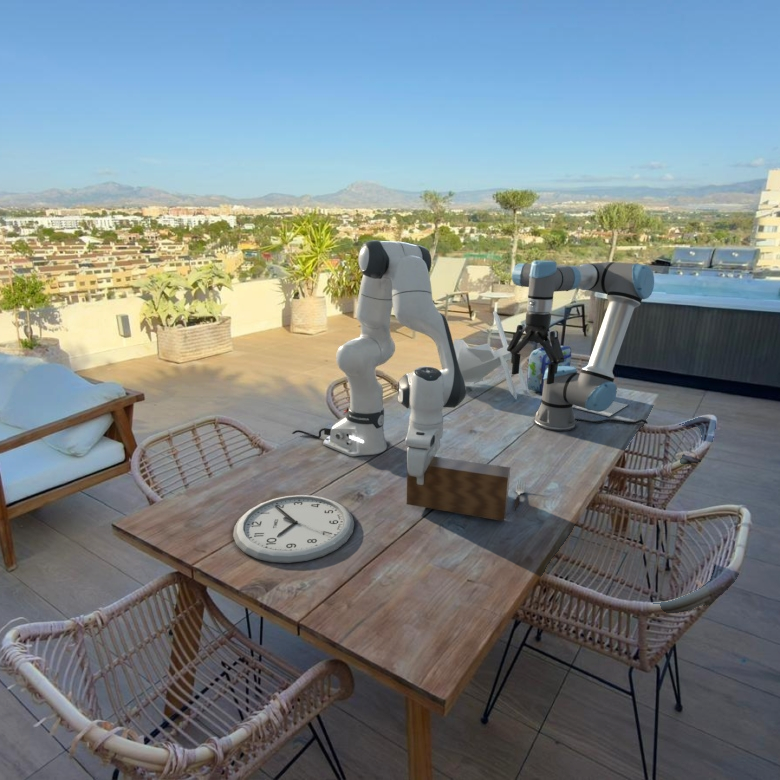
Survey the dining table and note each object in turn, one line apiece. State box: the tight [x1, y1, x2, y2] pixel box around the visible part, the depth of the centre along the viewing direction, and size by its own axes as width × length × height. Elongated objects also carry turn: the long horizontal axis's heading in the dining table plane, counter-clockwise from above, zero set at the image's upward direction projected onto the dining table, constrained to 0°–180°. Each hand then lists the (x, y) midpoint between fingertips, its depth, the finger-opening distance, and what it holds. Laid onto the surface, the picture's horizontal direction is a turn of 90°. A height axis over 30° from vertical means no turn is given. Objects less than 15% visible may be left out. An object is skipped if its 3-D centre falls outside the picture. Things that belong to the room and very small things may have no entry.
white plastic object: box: [438, 310, 531, 400], centre depth 245 cm, size 37×45×31 cm
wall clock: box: [232, 494, 355, 564], centre depth 132 cm, size 30×2×30 cm
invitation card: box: [573, 400, 629, 418], centre depth 226 cm, size 21×1×15 cm
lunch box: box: [526, 345, 572, 394], centre depth 247 cm, size 26×11×21 cm, turn 134°
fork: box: [514, 479, 527, 511], centre depth 147 cm, size 3×16×2 cm, turn 160°
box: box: [406, 456, 511, 522], centre depth 138 cm, size 26×6×12 cm, turn 72°
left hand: (424, 477), depth 141 cm, fingers closed on box, 6 cm apart
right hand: (532, 378), depth 167 cm, fingers open, 13 cm apart
